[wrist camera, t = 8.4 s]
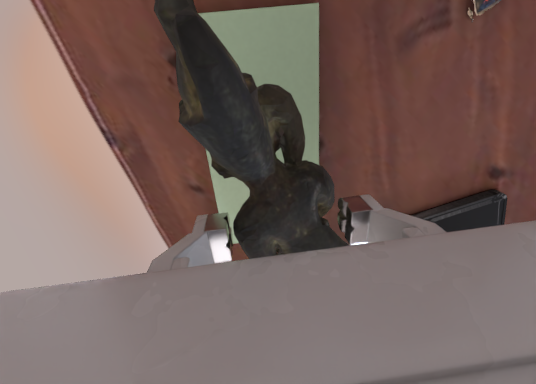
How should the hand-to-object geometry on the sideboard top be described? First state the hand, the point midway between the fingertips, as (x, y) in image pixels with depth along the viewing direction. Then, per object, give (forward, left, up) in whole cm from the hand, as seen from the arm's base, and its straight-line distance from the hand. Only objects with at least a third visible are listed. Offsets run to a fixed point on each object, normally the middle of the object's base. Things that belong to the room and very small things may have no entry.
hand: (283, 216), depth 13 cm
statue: (0, 0, -3) cm, 3 cm away
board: (0, 0, -14) cm, 14 cm away
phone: (+14, +22, -14) cm, 29 cm away
